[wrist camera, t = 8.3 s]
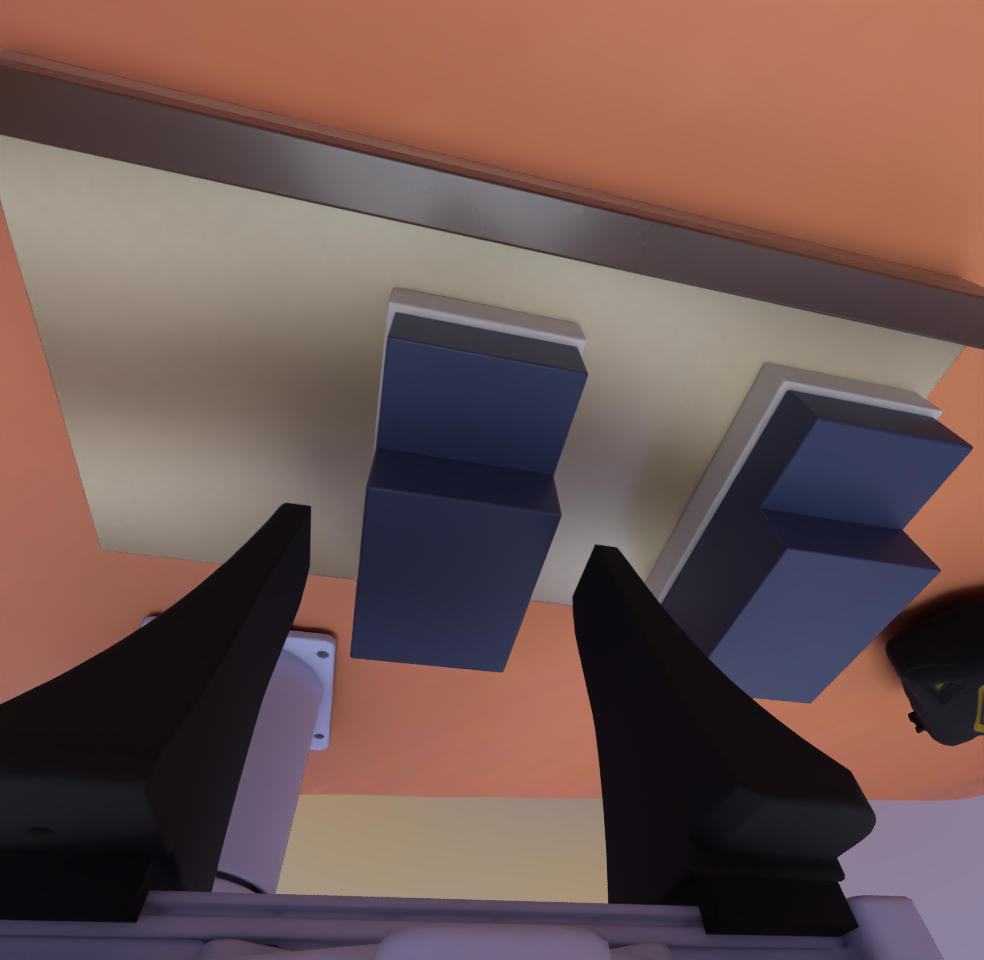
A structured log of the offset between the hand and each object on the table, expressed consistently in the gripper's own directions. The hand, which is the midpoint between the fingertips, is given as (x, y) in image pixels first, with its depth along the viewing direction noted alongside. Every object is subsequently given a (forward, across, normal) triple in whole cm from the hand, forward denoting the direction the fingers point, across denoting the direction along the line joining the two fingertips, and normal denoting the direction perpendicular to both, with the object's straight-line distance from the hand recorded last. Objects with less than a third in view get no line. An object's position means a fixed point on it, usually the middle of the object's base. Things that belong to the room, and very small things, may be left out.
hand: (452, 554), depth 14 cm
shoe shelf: (+6, -1, -1) cm, 6 cm away
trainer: (+4, 0, 0) cm, 4 cm away
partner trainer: (+4, -11, 0) cm, 11 cm away
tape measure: (+6, -25, +7) cm, 26 cm away
